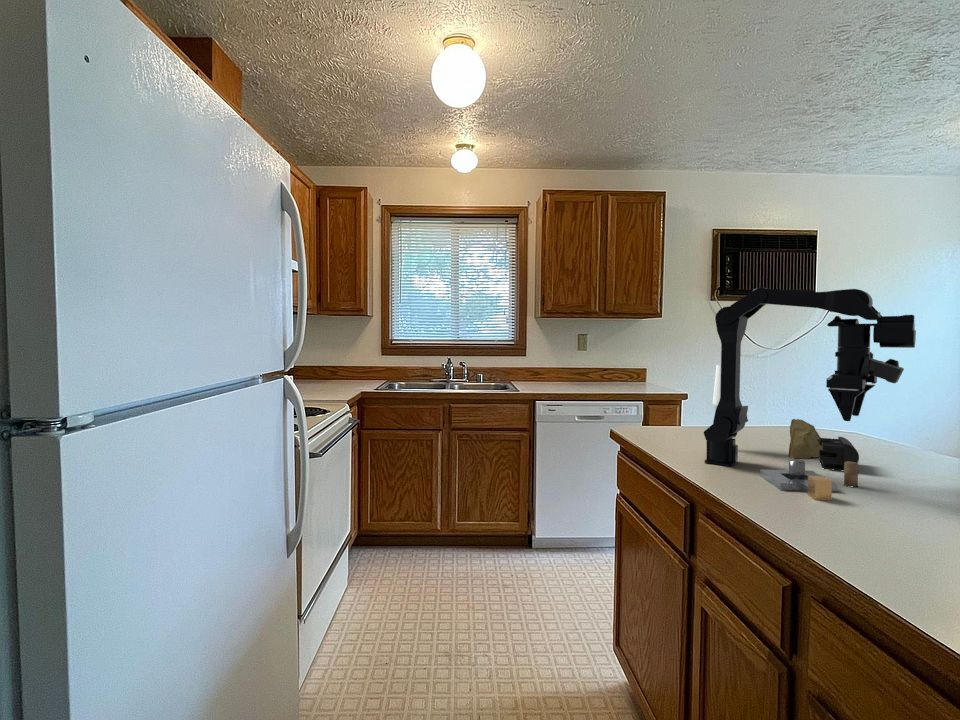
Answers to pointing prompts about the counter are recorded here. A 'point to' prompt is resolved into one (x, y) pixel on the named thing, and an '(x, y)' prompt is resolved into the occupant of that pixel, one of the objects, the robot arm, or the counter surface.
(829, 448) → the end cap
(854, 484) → the dowel
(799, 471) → the post
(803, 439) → the rock
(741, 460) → the counter surface
